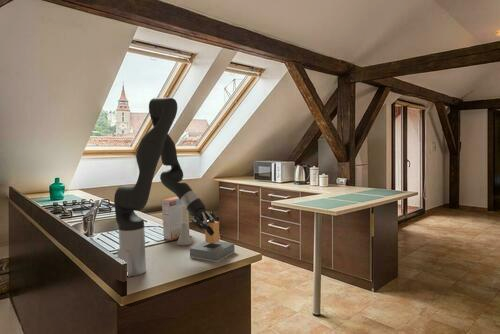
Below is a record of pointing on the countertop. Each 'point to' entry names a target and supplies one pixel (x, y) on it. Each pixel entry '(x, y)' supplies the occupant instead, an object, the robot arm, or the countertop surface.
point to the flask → (184, 236)
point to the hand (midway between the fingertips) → (215, 232)
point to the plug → (215, 228)
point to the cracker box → (173, 217)
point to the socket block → (212, 251)
